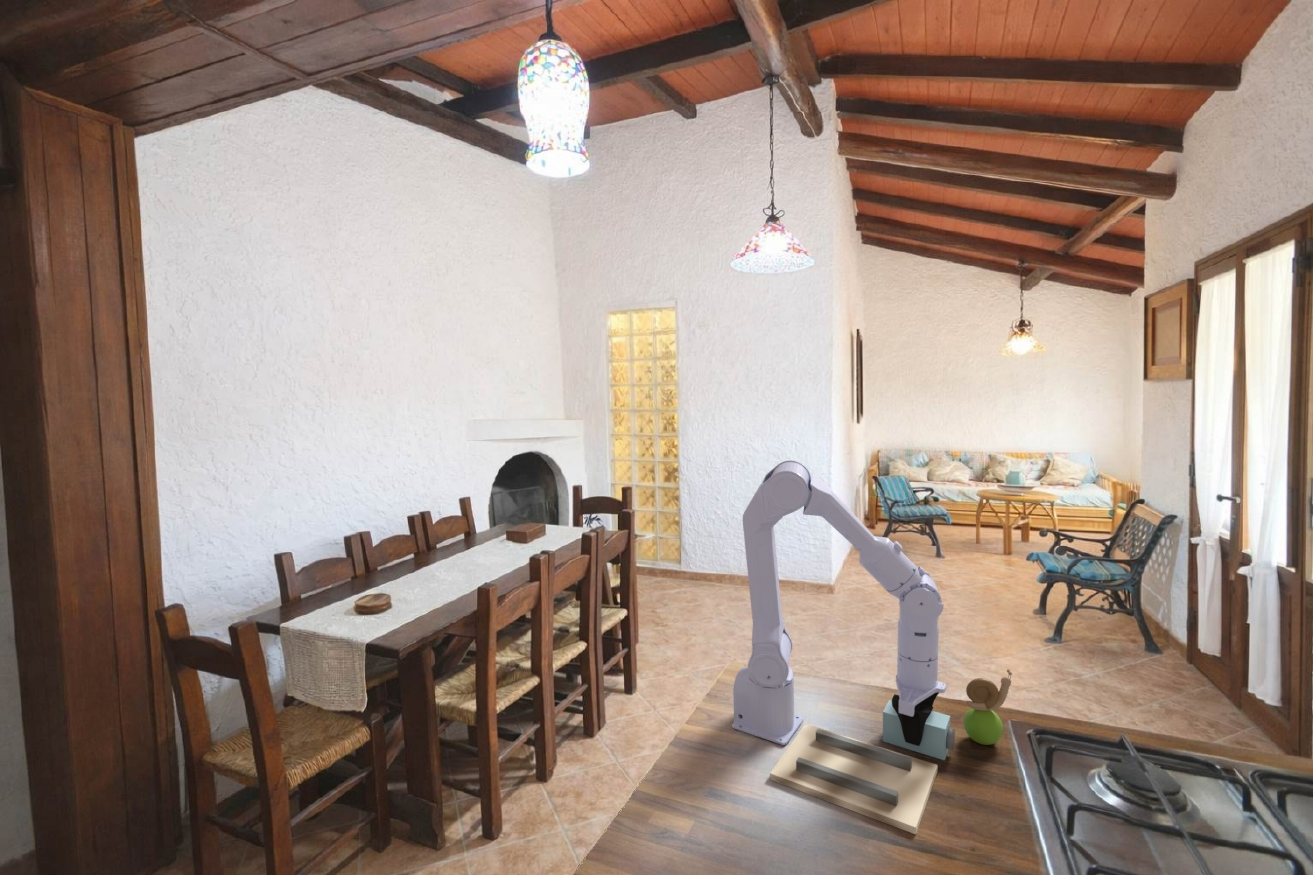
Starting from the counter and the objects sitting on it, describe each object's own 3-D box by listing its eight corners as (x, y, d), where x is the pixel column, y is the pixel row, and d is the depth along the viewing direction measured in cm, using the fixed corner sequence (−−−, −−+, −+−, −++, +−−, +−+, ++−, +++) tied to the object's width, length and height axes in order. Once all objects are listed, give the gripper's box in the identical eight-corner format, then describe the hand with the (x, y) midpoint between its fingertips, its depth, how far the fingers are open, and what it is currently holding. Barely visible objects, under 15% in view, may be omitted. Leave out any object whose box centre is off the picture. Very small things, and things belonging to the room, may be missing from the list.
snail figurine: (1014, 754, 94) (1018, 679, 92) (968, 750, 95) (971, 677, 94) (1002, 732, 99) (1005, 661, 98) (958, 729, 101) (961, 659, 99)
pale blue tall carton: (882, 741, 98) (882, 711, 98) (889, 727, 102) (889, 699, 101) (950, 762, 93) (951, 731, 92) (955, 747, 96) (956, 717, 95)
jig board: (770, 779, 91) (769, 763, 91) (805, 729, 102) (805, 714, 102) (915, 834, 80) (916, 816, 79) (937, 771, 91) (937, 755, 91)
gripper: (936, 681, 87) (934, 770, 89) (954, 639, 99) (952, 718, 101) (884, 668, 91) (883, 754, 93) (907, 629, 103) (906, 706, 105)
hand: (916, 734), depth 97 cm, fingers closed on pale blue tall carton, 4 cm apart
